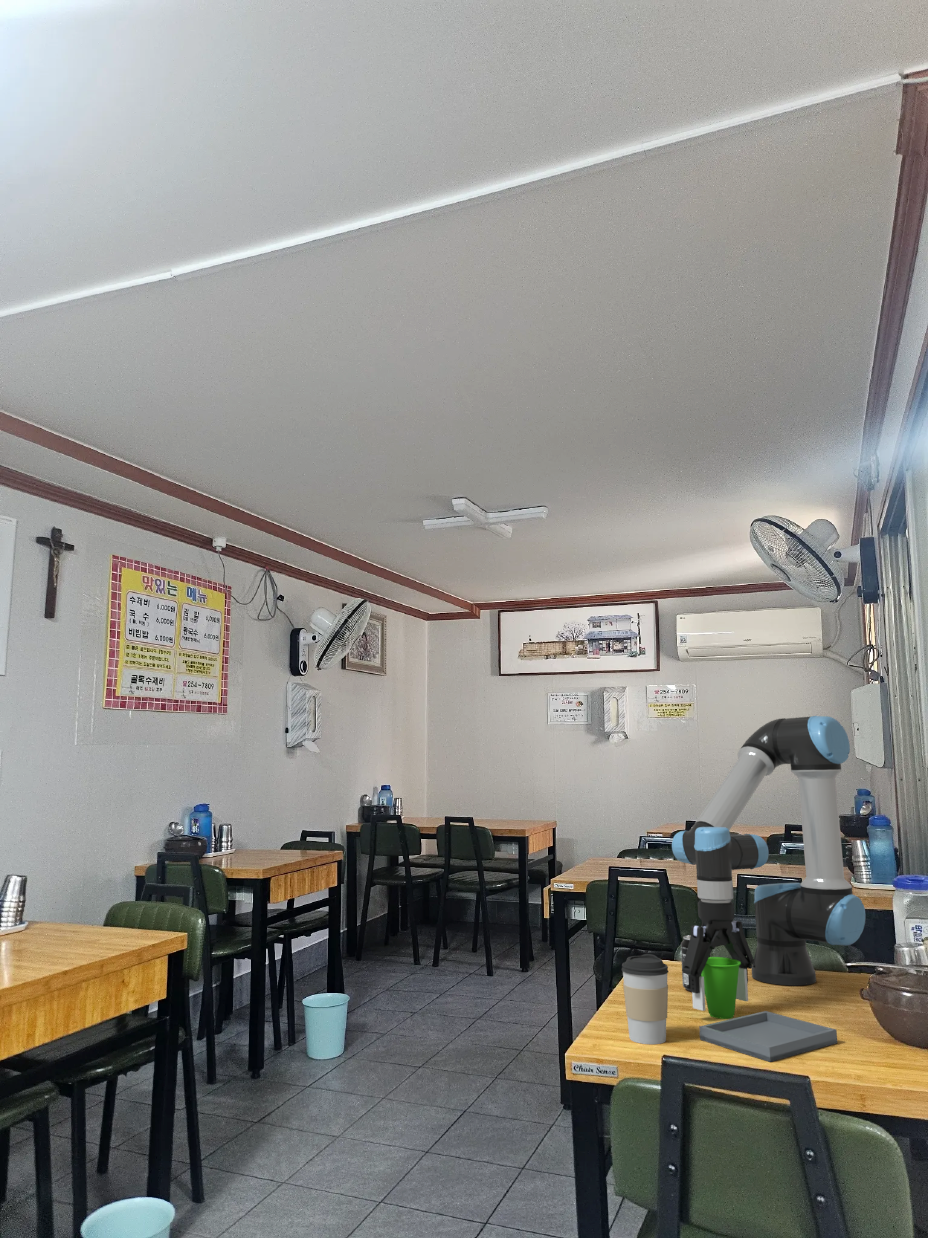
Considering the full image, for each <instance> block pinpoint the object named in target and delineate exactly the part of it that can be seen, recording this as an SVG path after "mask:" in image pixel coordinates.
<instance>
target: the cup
mask: <svg viewBox="0 0 928 1238" xmlns="http://www.w3.org/2000/svg"><path fill="white" fill-rule="evenodd" d="M740 964H741V962H740V961H738V960H735V959H733V958H732V957H731V958H730V957H721V956H711V957H709V958H708V960H707V962H706V965H705V967H704V969H703V971H702V974H701V976H702V977H704V991H705V1003H706V1005H707V1011H708V1012H707V1013H708V1014H709V1016H710V1017H711V1018H714V1019H717V1020H718V1019H719V1020H729V1019H733V1018H735V1017H734V1016H735V1013H736V1011H735V1010H736V1003H737V1001H736V1000H737V999H736V993H737V982H738V972H739V965H740Z"/></svg>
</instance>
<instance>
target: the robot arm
mask: <svg viewBox="0 0 928 1238" xmlns="http://www.w3.org/2000/svg"><path fill="white" fill-rule="evenodd" d="M850 750H851V744H850V739H849V736H848V734H847V731H846V730H845V728H844V726H843V725H842V724H841V723H840V722H839V721H838V720H837V718H836V719H835V718H834V717H832V716H827V715H826V716H825V715H824V716H822V715H813V716H802V717H801V716H800V717H799V716H798V717H789V718H785V717H784V718H776V719H773V720H770V721H768V722H767V723H765V724H763V725H762V726H761V727H759V728H758V729H757V730H756V731H754V732H753V733H752V734H751V735H750V736H749V737H748V738H747V739H745V742H743V744H742V746H741V747H740V749H738V751H737V758H738V759H737V760H736V762H735V763H734V765H733V766H732V767H731V769H730V771H729V772H728V774H727V776H726V777H725V778H724V780H723V781H722V782H721V784H720V785H719V787H718V788H717V790H716V791H715V792H714V794H713V796H712V797H711V798H710V800H709V802H708V803H707V804H706V806H705V808H704V809H703V810H702V812H701V814H700V815H699V816H698V818H697V819H696V821H695V823H694V824H693V825H692V827H691V828H690V829H689V830H681V831H679V832H677V833H676V834H674V836H673V839H672V841H671V850H672V854H673V855H674V857H675V858H676V860H677V861H679V862H680V863H684V864H688V865H689V864H690V865H692V866H696V867H695V869H696V870H695V871H696V881H697V882H696V886H697V887H696V888H697V889H696V890H697V897H698V899H699V900H698V901H697V912H698V916H697V917H698V918H699V919H700V920H701V926H699V925H695V924H694V925H691V927H690V935H691V937H690V941H689V945H688V949H687V952H686V956H685V960H684V964H683V967H682V966H681V973H682V972H683V973H686V974H687V975H689V976H690V984H691V985H690V986H691V992H690V993H691V994H692V996H691V997H692V1009H695V1010H698V1011H703V1012H705V1011H706V997H705V991H704V977H702V976H701V974H702V971H703V969H704V967H705V965H706V962H707V960H708V958H709V956H710V954H712V951H713V950H715V948H717V947H718V948H719V947H720V946H724V947H725V949H726V951H727V952H728V954H729V956H730V957H731V959H735V960H738V961H740V962H741V964H740V965H739V972H738V982H737V993H736V1000H739V1001H744V1002H749V990H748V988H749V987H748V982H749V974H748V973H749V971H748V969H749V970H751V977H752V979H754V980H756V981H759V982H762V983H767V984H771V985H772V984H773V985H779V986H780V985H781V986H806V985H807V986H808V985H812V984H815V983H817V977H816V970H815V968H814V965H813V963H812V959H811V956H810V955H809V951H808V949H807V941H806V940H808V941H814V942H820V943H826V944H829V945H832V946H835V945H836V946H837V945H838V946H851V945H853V944H854V943H856V942H857V941H858V940H859V939H860V937H861V935H862V933H863V931H864V928H865V924H866V909H865V905H864V904H863V901H862V899H861V898H860V897H858V896H857V895H855V894H853V886H852V884H851V883H850V882H849V881H847V879H845V870H844V860H843V858H844V857H843V847H842V837H841V825H840V814H839V805H838V793H837V781H836V778H837V776H838V775H839V774H841V772H842V764H843V763H845V762H846V761H847V760H848V759H849V754H850V752H851V751H850ZM782 765H790V772H791V773H792V774H793V775H794V776H796V778H797V779H798V780H797V781H798V793H799V804H800V805H799V806H800V815H801V817H800V818H801V827H802V828H801V829H802V830H801V831H802V840H803V842H802V843H803V852H804V863H805V864H804V865H805V876H806V877H804V879H803V880H802V881H801V882H783V883H768V884H760V885H757V886H756V888H755V889H754V901H753V904H754V913H755V927H756V928H755V929H756V930H755V931H756V949H755V952H754V956H753V954H752V951H751V948H750V946H749V943H748V940H747V938H746V936H745V933H744V930H743V929H744V928H743V922H742V921H740V920H734V919H735V904H734V903H733V901H732V900H733V899H734V883H733V882H734V881H733V871H734V870H735V871H736V870H754V869H757V868H761V867H762V866H765V864H766V863H767V861H768V860H769V855H770V854H769V853H770V852H769V847H768V844H767V842H766V841H765V840H764V838H762V836H760V835H758V834H752V833H751V834H750V833H744V834H734V833H731V832H730V830H731V829H732V828H733V826H734V824H735V822H737V820H738V818H739V816H740V815H741V813H742V812H743V810H744V809H745V807H746V806H747V805H748V803H749V801H750V800H751V798H752V797H753V794H754V793H755V792H756V790H757V789H758V787H759V786H760V784H761V782H762V781H763V780H764V778H765V776H770V775H771V774H772V773H773V772H774V770H775V769H777V767H779V766H782ZM706 941H707V942H706ZM688 967H690V968H688ZM696 969H697V970H696Z"/></svg>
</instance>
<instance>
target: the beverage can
mask: <svg viewBox="0 0 928 1238" xmlns="http://www.w3.org/2000/svg"><path fill="white" fill-rule="evenodd" d="M690 937H691V934H690V935H684V936H682V938H683V940H682V941H681V942H680V955H681V957H680V958H681V968H682V967H683V964H684V960H685V956H686V952H687V949H688V945H689V941H690ZM706 942H707V941H706ZM711 954H712V953H711ZM711 954H710V956H709V957H712V955H711ZM688 968H690V967H688ZM696 970H697V969H696ZM681 976H682V979H681V980H682V986H683V988H684V989H685V990H687V991H688V992H690V993H692V992H691V986H690V985H691V984H690V976H689V975H687V974H686V973H683V972H682V971H681Z"/></svg>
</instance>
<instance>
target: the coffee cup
mask: <svg viewBox="0 0 928 1238" xmlns="http://www.w3.org/2000/svg"><path fill="white" fill-rule="evenodd" d="M668 968H669V966H668V965H667V964H666V963H664V962H663V960H662V958H660V957H658V956H657V955H655V954H653V953H644V954H641V955H632V956H628V957H627V958H626V961H624V962H622V964H621V971H622V976H623V977H622V978H623V983H622V985H623V993H624V1004H625V1006H624V1007H625V1013H626V1014H625V1015H626V1017H627V1027H628V1036H629V1037H628V1038H629V1039H630V1041H631V1042H634V1043H636V1044H644V1045H659V1044H660V1045H661V1044H663V1043H665V1042H666V1041H667V1018H668V1001H669V984H668V973H669V971H670V970H668Z"/></svg>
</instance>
